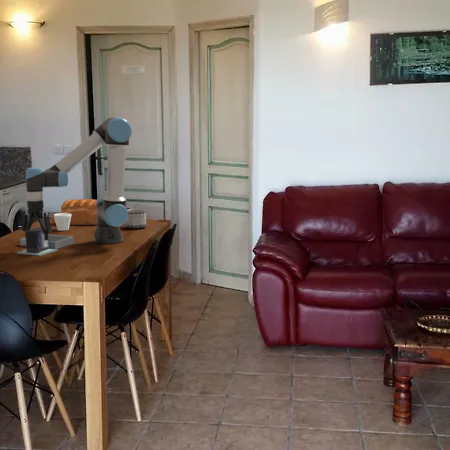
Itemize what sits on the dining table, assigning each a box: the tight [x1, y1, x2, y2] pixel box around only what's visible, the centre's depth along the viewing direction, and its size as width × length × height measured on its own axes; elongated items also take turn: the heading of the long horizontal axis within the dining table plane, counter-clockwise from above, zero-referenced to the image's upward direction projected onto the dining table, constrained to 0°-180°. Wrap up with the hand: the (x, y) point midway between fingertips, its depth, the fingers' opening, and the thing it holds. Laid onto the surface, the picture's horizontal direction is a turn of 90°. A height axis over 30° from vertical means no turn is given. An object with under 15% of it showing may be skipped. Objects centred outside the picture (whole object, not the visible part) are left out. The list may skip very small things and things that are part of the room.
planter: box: [124, 208, 147, 230], centre depth 389 cm, size 13×13×10 cm
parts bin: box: [19, 234, 75, 249], centre depth 339 cm, size 22×16×4 cm
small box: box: [25, 227, 50, 253], centre depth 320 cm, size 11×6×10 cm, turn 163°
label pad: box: [16, 248, 59, 257], centre depth 321 cm, size 14×14×1 cm
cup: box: [53, 212, 71, 232], centre depth 380 cm, size 10×10×9 cm
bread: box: [60, 198, 97, 226], centre depth 402 cm, size 14×26×16 cm, turn 90°
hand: (37, 245), depth 321 cm, fingers open, 9 cm apart
